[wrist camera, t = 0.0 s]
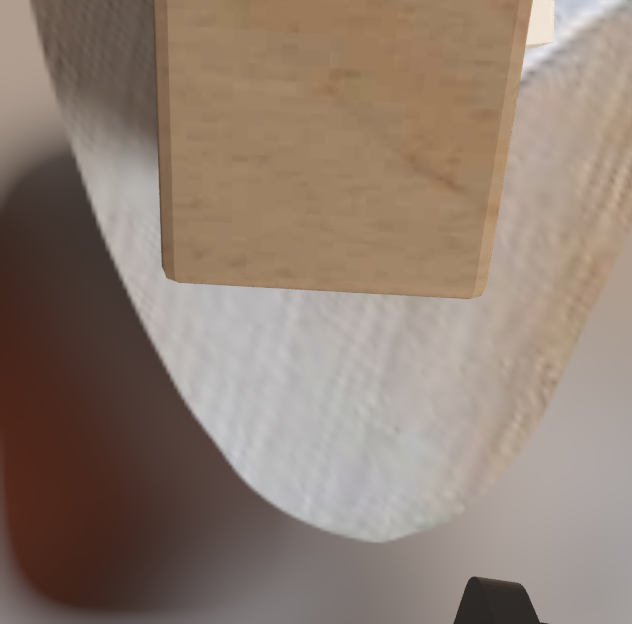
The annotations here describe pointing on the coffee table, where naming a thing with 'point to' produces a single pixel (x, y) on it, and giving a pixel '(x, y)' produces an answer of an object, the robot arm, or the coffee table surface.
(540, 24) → the cream block
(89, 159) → the coffee table surface
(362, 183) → the wooden block
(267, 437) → the coffee table surface
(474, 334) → the coffee table surface
